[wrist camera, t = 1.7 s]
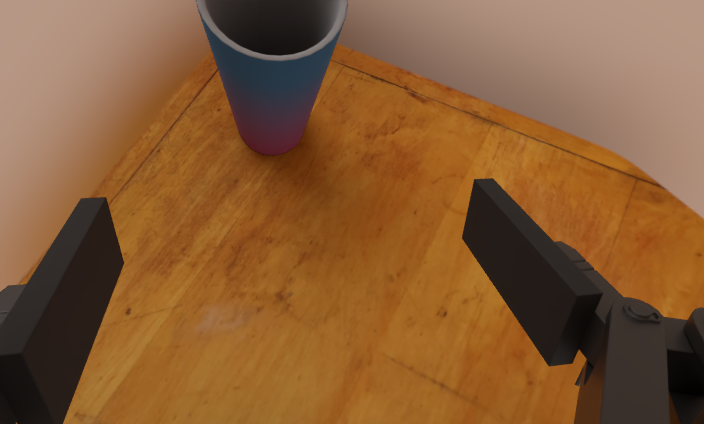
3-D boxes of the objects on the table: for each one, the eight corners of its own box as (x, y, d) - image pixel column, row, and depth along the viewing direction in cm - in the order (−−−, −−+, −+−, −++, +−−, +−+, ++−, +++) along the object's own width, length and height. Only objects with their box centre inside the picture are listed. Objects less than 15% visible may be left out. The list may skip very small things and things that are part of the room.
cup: (327, 153, 35) (368, 43, 21) (240, 177, 33) (219, 75, 19) (300, 75, 36) (321, -82, 22) (214, 94, 34) (176, -62, 20)
